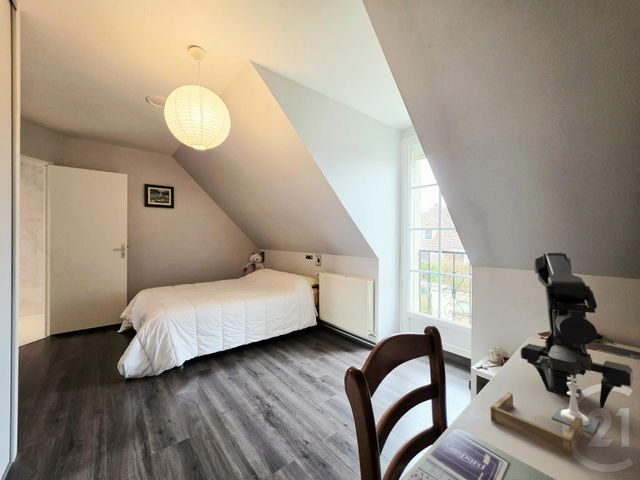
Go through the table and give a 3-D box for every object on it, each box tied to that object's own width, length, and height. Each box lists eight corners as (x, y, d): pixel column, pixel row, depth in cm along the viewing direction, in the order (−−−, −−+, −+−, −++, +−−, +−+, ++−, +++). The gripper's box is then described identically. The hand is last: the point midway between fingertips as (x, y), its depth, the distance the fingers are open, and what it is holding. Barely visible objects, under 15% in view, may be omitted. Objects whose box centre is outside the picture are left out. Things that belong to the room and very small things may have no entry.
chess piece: (560, 409, 66) (558, 369, 66) (588, 417, 62) (585, 375, 63) (560, 419, 62) (557, 376, 62) (590, 428, 59) (587, 382, 59)
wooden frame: (508, 403, 69) (508, 392, 69) (582, 432, 58) (581, 418, 58) (491, 420, 63) (490, 407, 63) (570, 456, 51) (569, 440, 51)
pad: (559, 407, 67) (559, 406, 67) (599, 422, 61) (599, 420, 61) (551, 418, 63) (551, 417, 63) (593, 434, 57) (593, 433, 57)
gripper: (511, 329, 66) (514, 393, 65) (624, 351, 51) (630, 434, 50) (526, 322, 72) (529, 379, 72) (630, 339, 57) (636, 412, 56)
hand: (573, 398), depth 62 cm, fingers open, 9 cm apart
